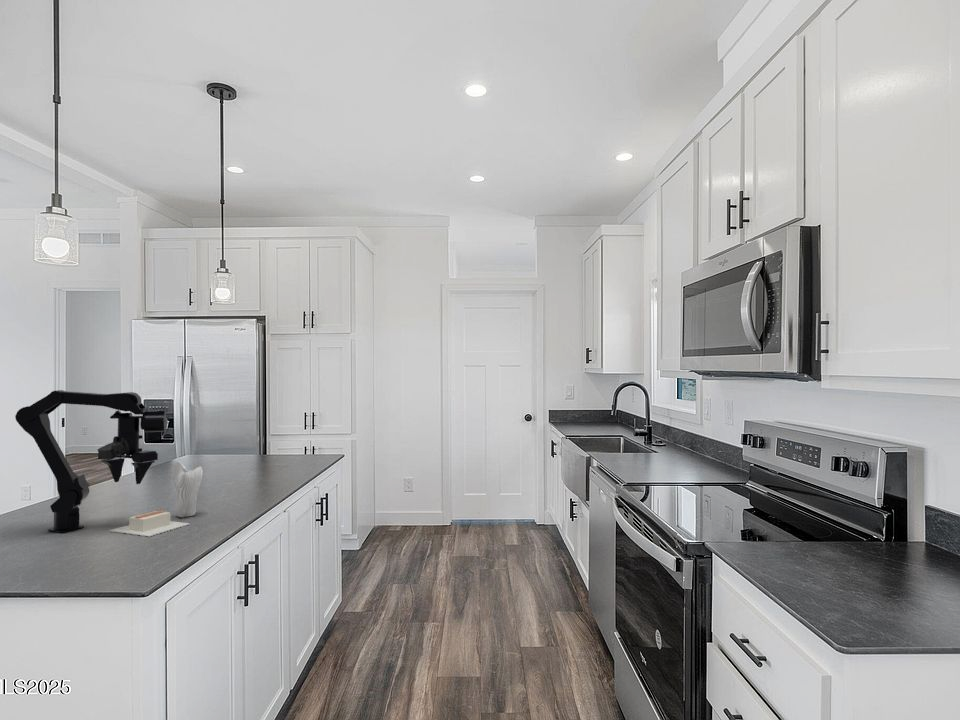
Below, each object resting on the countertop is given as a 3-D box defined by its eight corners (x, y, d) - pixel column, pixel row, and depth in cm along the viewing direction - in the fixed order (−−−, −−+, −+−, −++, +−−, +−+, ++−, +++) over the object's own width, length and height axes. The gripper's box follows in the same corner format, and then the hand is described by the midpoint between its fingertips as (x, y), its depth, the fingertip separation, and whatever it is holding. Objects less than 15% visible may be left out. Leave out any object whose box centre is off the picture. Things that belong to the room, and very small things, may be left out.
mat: (109, 531, 166) (109, 530, 166) (151, 520, 179) (151, 518, 179) (149, 537, 161) (149, 535, 161) (189, 524, 174) (189, 523, 174)
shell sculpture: (204, 515, 185) (205, 461, 185) (177, 520, 179) (178, 464, 179) (194, 511, 191) (195, 458, 191) (168, 515, 185) (169, 461, 185)
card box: (156, 522, 175) (156, 509, 175) (170, 524, 173) (170, 511, 173) (129, 529, 167) (129, 516, 167) (143, 531, 165) (143, 518, 165)
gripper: (81, 434, 169) (80, 485, 169) (126, 436, 163) (125, 490, 163) (116, 430, 180) (115, 479, 180) (159, 432, 174) (158, 483, 173)
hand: (127, 482), depth 174 cm, fingers open, 9 cm apart
